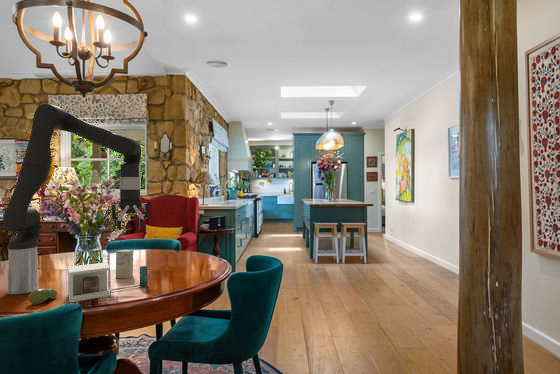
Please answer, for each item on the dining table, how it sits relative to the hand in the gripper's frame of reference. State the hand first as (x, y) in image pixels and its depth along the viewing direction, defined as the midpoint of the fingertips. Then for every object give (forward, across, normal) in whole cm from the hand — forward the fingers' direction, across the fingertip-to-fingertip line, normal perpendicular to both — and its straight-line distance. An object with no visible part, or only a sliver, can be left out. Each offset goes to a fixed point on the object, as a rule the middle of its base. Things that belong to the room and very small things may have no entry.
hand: (130, 229), depth 138 cm
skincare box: (+24, +1, +21) cm, 32 cm away
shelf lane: (+24, -14, 0) cm, 28 cm away
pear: (+24, -29, +1) cm, 38 cm away
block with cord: (+24, -5, 0) cm, 24 cm away
